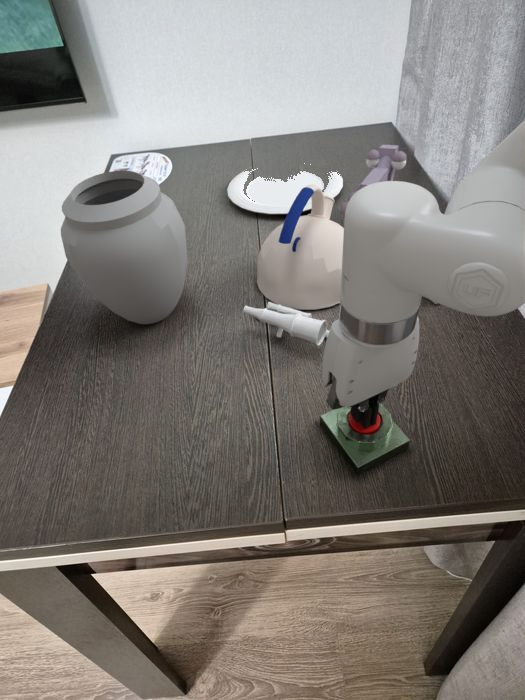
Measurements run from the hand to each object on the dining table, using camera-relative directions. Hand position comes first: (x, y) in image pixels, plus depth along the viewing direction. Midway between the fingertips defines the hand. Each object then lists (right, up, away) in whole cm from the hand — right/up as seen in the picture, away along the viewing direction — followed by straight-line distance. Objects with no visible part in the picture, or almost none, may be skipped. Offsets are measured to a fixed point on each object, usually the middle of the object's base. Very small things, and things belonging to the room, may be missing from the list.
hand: (363, 418), depth 57 cm
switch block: (+1, -3, +3) cm, 4 cm away
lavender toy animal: (+13, +39, +42) cm, 58 cm away
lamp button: (0, -1, +1) cm, 2 cm away
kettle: (-4, +23, +29) cm, 37 cm away
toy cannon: (-9, +12, +18) cm, 23 cm away
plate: (-7, +49, +55) cm, 74 cm away
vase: (-34, +16, +26) cm, 46 cm away
